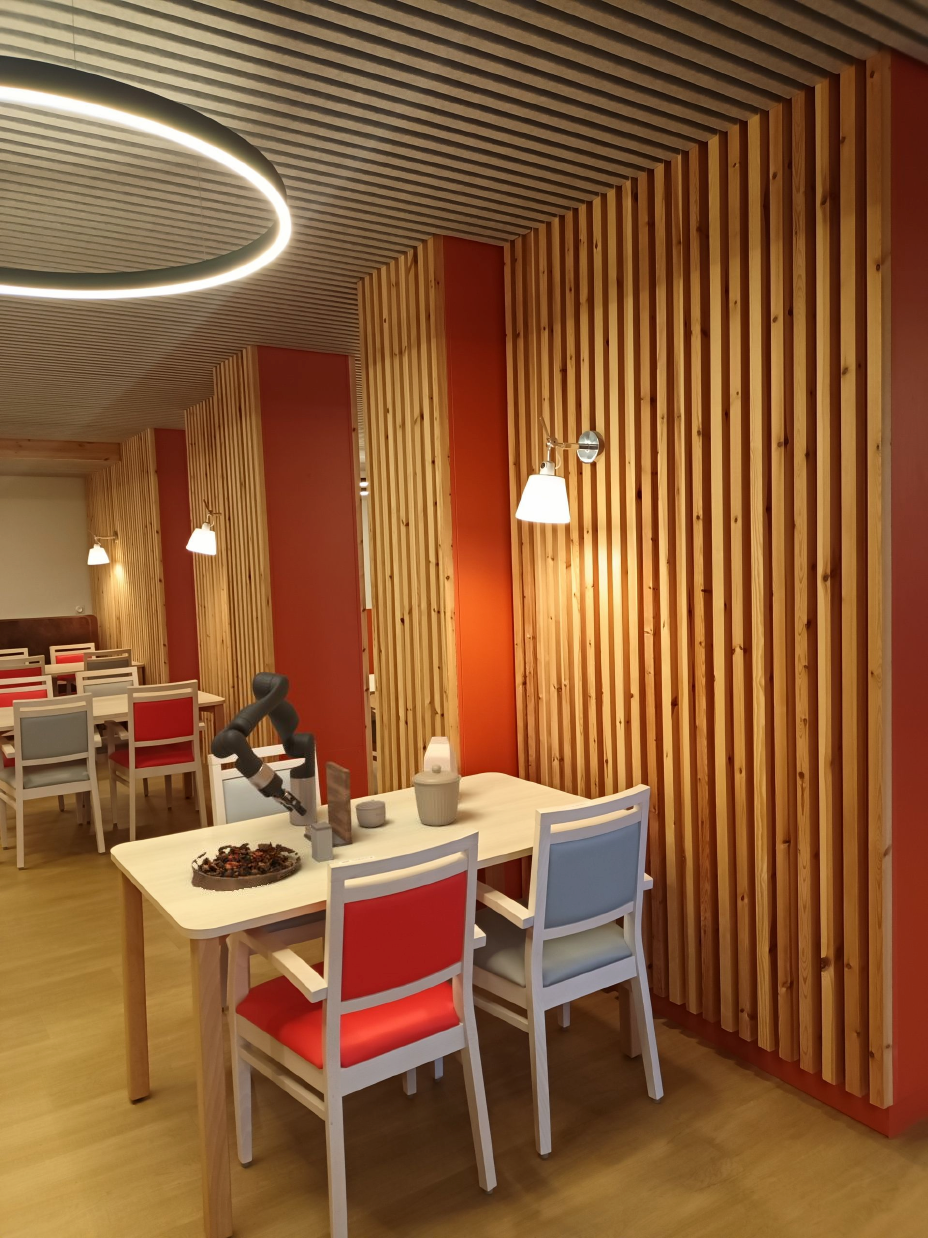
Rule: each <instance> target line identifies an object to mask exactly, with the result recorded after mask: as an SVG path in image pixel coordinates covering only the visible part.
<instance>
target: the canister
mask: <svg viewBox="0 0 928 1238" xmlns="http://www.w3.org/2000/svg"><path fill="white" fill-rule="evenodd" d="M457 773H458V772H457ZM457 773H456V772H453V771H449V770H441V766H440V765H433V766H432V768H431V770H429V771H424V770H423V771H420V772H418V773H416V774H415V775H414V776H412V777H411V781H412V782H413V788H414V795H415V802H416V808H417V813H418V814H417V815H418V818H419V821H420V822H421V823H422V824H424V825H426V826H436V827H439V826H444V825H445V826H446V825H449V824H452V823H454V822H455V820H456V818H457V816H458V809H459V808H458V805H459V801H458V797H460V781H461V779H462V775H461V774H459V773H458V774H457Z"/></svg>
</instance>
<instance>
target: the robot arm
mask: <svg viewBox="0 0 928 1238" xmlns="http://www.w3.org/2000/svg"><path fill="white" fill-rule="evenodd" d="M251 689H252V693H253V694H252V695H254V697H255V699H256V700H257V701H254V702H252V703H250V704H248V705H245V706H244V707H242V708H241V709H240V710H239V711H238V712H237V713H236V714H235V716H234V717H233V719H232V720H231V721H230V722H229V724H227V725H226V726H225V727H224V728H223V729H221V730H220V731H219V732H218V733H217V734H216V735H215V736H214V737H213V738H212V741H211V743H210V753H211V754H212V756H214V757H215V758H217V759H221V760H223V759H227V758H229V757H231V756H233V755H236V757H237V758H236V759H235V761H234V767H235V769H236V770H237V771H238V773H240V774H241V775H242V776H243V777H244V778H245V779H246V780H247V782H249V783H250V785H251V786H253V787H254V789H255V790H257V791H258V792H259V793H260V794H261V795H262V796H263V797H264V798H267V799H268V798H272V799H273V800H274V801H275V802H276V803H278V804H279V805H281V806H283V807H284V808H285V809H286V810H287V811H288V813H289V823H290V824H292V825H294V826H311V824H313V823H318V811H317V810H318V809H317V808H318V807H317V785H316V782H317V781H316V738H315V735H314V733H312V732H296V730H297V729H298V726H299V724H300V717H299V714H298V712H297V710H296V708H295V707H294V705H293V704H292V703H291V702H290V701H289V700H287V699H286V698H287V696H288V695H289V691H290V681H289V678H288V677H287V676H286V675H283V674H280V673H274V672H267V671H261V672H258V673H256V674H255V675H254V677H253V678H252V683H251ZM266 716H268V718H269V720H270V722H271V724H272V726H273V729H275V732H276V733H277V735H278V737H279V740H280V742H281V745H282V748H283V750H284V753H285V755H286V756H287V757H288V758H290V759H304V762H303V763H301V764H300V765H297V766H294V767H292V768H291V769H290V770H289V786H290V789H289V790H288V789H286V788H283V783H284V779H283V778H282V777H281V776H280V775H279V774H278V773H277V772H276V771H275V770H273V769H272V768H271V766H270V765H268V764H267V763H265V762H264V761H263V760H262V759H261V758H260V757H259V756H258V755H257V754H256V753H255V752H254V750H253V749H252V747H251V745H250V743H249V741H248V740H247V739H246V738H248V737H249V736H250V735H251V733H252V732H254V730H255V728H256V727H257V725H258V724H259V723H261V721H262V720H263V719H264V718H266Z"/></svg>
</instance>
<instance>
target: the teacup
mask: <svg viewBox="0 0 928 1238" xmlns="http://www.w3.org/2000/svg"><path fill="white" fill-rule="evenodd" d="M354 808H355V813H356V819H357V823H358V824H359V825H361V826H362V827H364V828H376V827H379V826H381V825H382V824H383V823H384V822H385V821H386V817H387V811H386V810H387V809H386V802H385V801H384V800H378V799H371V800H366V801H361V802H358V803H357V804H356V805H355V806H354Z"/></svg>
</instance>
